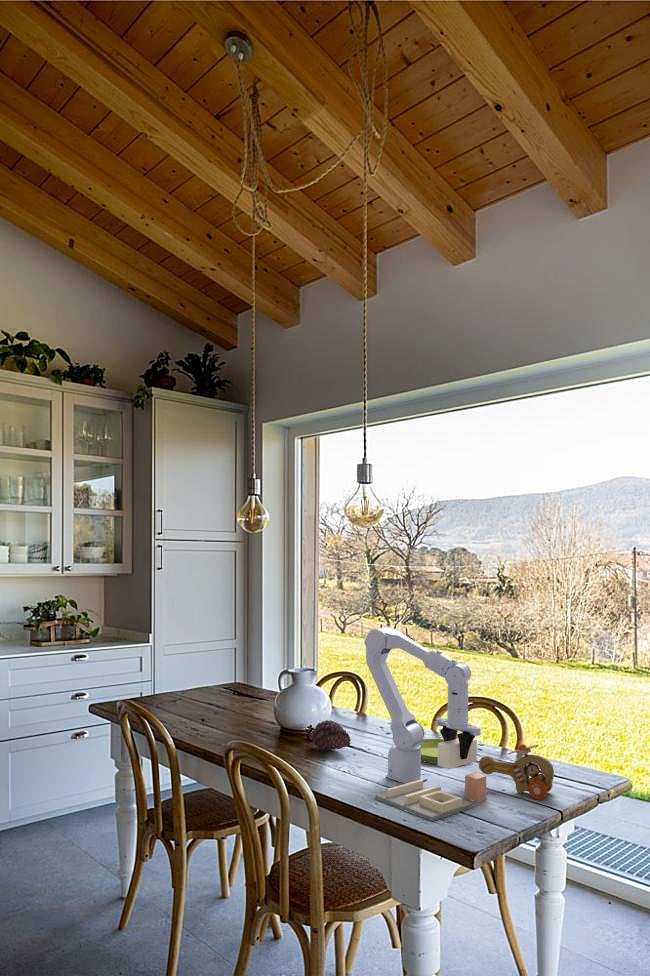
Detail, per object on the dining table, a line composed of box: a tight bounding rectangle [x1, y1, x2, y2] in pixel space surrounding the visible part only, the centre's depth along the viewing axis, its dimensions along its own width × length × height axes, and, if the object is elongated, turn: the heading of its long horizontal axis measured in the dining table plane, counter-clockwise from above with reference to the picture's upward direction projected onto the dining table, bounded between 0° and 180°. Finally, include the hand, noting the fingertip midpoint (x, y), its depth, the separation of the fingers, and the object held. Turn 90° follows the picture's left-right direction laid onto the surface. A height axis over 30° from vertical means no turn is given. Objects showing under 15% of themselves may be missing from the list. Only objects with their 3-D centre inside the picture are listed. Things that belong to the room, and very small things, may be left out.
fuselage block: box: [437, 738, 478, 770], centre depth 210 cm, size 4×12×6 cm, turn 130°
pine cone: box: [309, 719, 352, 752], centre depth 244 cm, size 18×10×10 cm, turn 41°
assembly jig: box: [375, 780, 474, 822], centre depth 197 cm, size 20×16×3 cm
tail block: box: [464, 772, 487, 803], centre depth 202 cm, size 4×4×6 cm
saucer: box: [421, 738, 444, 765], centre depth 240 cm, size 21×21×3 cm
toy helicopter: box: [478, 743, 555, 801], centre depth 209 cm, size 8×21×14 cm, turn 61°
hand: (457, 756), depth 210 cm, fingers closed on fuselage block, 4 cm apart
